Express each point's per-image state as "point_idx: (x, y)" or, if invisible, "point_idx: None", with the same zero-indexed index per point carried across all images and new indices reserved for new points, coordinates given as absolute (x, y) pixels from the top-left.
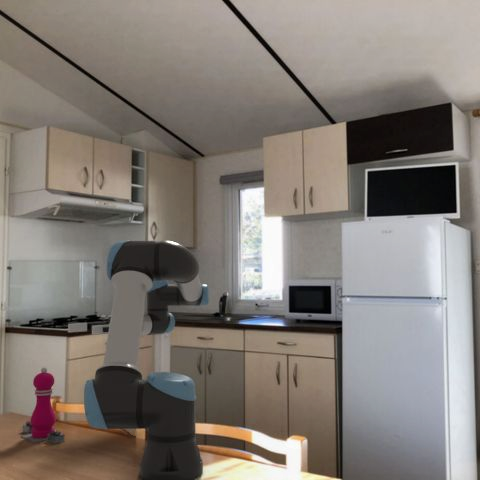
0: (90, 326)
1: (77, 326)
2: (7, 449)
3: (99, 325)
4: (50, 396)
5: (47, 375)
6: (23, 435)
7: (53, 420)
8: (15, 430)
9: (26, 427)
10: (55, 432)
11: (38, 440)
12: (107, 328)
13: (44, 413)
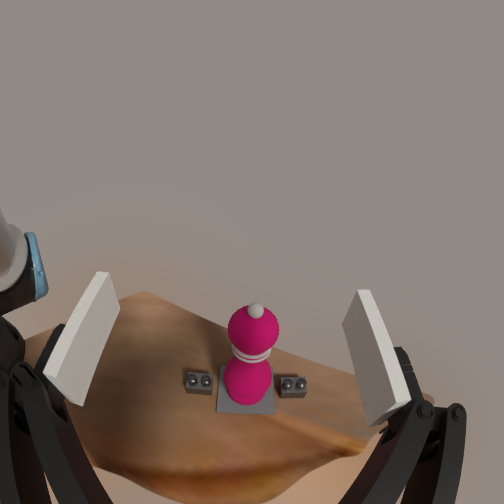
0: (388, 442)
1: (366, 346)
2: (225, 331)
3: (80, 299)
4: (239, 359)
5: (236, 317)
6: (272, 370)
7: (225, 383)
8: (320, 378)
9: (291, 378)
10: (193, 374)
11: (223, 370)
12: (52, 340)
13: (230, 360)
